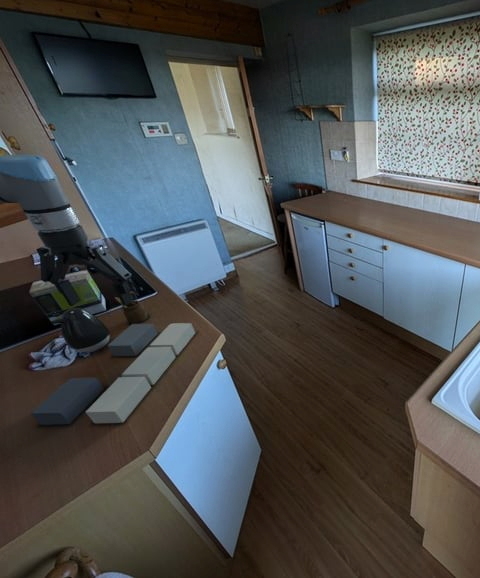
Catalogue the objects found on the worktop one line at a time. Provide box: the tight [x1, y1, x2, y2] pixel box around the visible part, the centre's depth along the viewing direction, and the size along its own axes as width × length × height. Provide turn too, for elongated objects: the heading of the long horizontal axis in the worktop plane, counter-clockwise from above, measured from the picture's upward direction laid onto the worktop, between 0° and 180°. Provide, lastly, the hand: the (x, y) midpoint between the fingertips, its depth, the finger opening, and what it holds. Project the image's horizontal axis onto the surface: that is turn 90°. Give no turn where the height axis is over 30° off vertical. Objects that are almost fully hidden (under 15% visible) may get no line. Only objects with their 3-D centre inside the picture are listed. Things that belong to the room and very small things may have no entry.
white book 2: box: [121, 346, 176, 386], centre depth 87 cm, size 7×11×4 cm, turn 2°
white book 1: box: [85, 376, 152, 424], centre depth 77 cm, size 7×11×4 cm, turn 2°
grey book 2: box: [107, 323, 159, 357], centre depth 97 cm, size 7×11×4 cm, turn 2°
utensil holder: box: [114, 291, 148, 325], centre depth 107 cm, size 6×6×12 cm
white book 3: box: [149, 322, 196, 356], centre depth 97 cm, size 7×11×4 cm, turn 2°
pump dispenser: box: [50, 308, 111, 354], centre depth 93 cm, size 10×10×15 cm
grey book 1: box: [29, 377, 105, 426], centre depth 76 cm, size 7×11×4 cm, turn 2°
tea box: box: [28, 269, 107, 326], centre depth 110 cm, size 15×10×15 cm, turn 130°
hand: (102, 303), depth 79 cm, fingers open, 13 cm apart
